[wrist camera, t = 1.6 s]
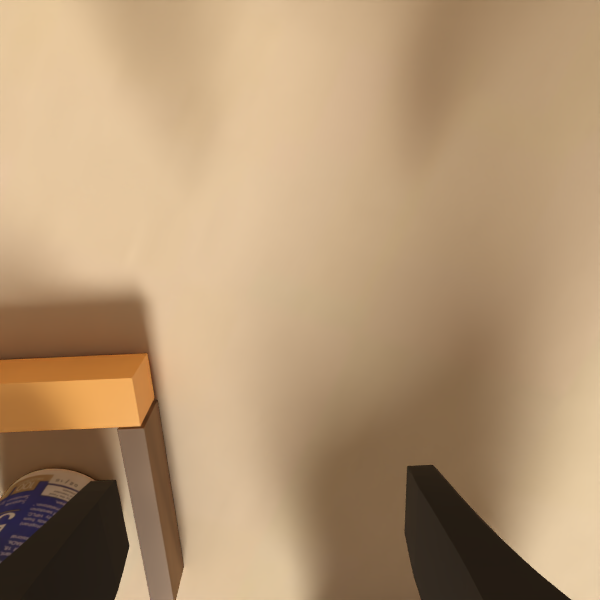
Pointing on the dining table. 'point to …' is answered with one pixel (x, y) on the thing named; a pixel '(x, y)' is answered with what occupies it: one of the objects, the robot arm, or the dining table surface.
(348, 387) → the dining table surface
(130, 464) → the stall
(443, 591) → the robot arm
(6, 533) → the pill bottle
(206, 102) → the dining table surface
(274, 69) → the dining table surface
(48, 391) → the orange rectangular block
